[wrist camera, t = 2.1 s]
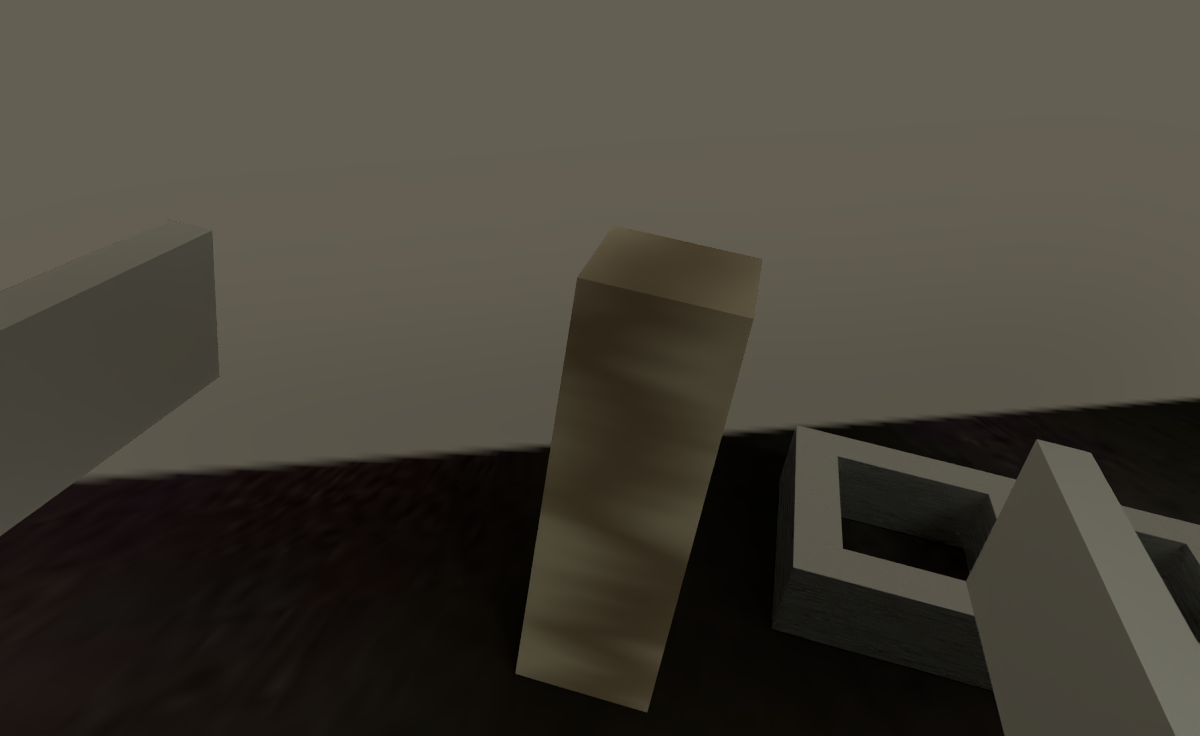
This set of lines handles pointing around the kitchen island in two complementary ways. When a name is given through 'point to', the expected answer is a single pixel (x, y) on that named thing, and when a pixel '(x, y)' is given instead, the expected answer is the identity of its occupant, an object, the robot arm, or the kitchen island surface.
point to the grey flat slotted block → (902, 593)
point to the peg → (632, 457)
